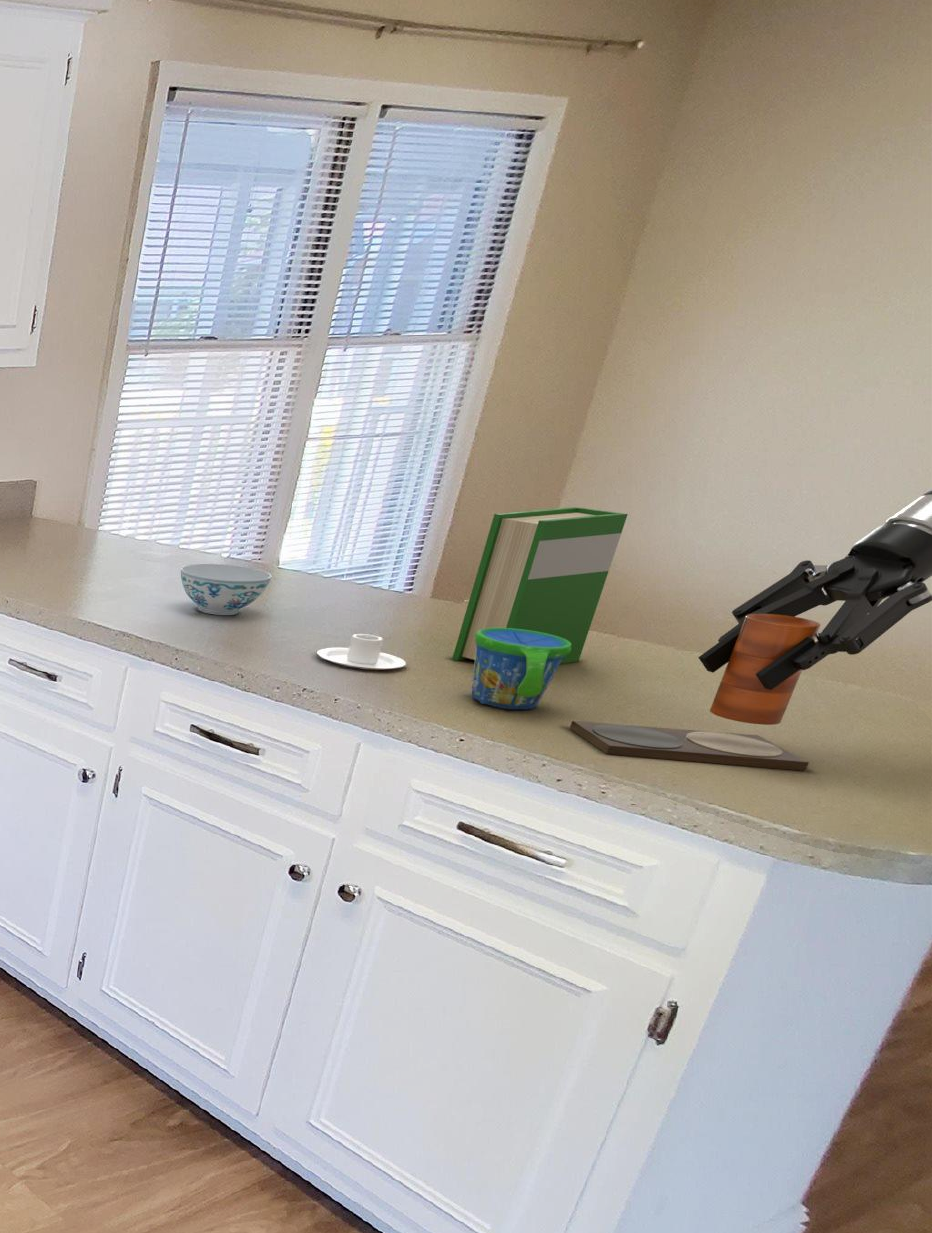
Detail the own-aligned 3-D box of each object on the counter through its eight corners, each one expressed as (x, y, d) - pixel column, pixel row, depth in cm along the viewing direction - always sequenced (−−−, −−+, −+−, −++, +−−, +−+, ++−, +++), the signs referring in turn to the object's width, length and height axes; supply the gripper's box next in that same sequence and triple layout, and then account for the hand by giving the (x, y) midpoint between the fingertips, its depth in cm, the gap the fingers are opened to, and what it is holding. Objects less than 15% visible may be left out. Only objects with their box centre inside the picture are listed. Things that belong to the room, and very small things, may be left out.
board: (805, 771, 139) (809, 761, 139) (606, 754, 145) (609, 744, 145) (754, 743, 148) (758, 734, 147) (569, 728, 154) (572, 719, 154)
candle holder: (316, 665, 183) (322, 640, 181) (316, 648, 192) (322, 623, 190) (406, 677, 176) (414, 650, 175) (402, 658, 186) (409, 633, 184)
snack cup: (561, 725, 155) (585, 655, 152) (466, 713, 160) (487, 645, 157) (537, 693, 168) (558, 628, 164) (450, 683, 173) (468, 620, 169)
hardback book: (499, 671, 178) (545, 521, 169) (452, 659, 185) (494, 513, 176) (578, 661, 182) (627, 514, 174) (529, 649, 189) (574, 506, 180)
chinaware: (246, 603, 221) (255, 564, 218) (275, 622, 208) (284, 581, 205) (164, 600, 224) (171, 562, 222) (186, 619, 211) (194, 579, 208)
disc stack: (793, 727, 139) (834, 628, 135) (728, 722, 141) (766, 624, 137) (760, 710, 145) (799, 615, 140) (698, 706, 147) (734, 612, 142)
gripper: (1028, 581, 127) (830, 718, 133) (840, 548, 145) (673, 669, 151) (1004, 536, 125) (803, 677, 131) (816, 508, 143) (647, 633, 149)
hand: (734, 673), depth 141 cm, fingers closed on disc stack, 6 cm apart
